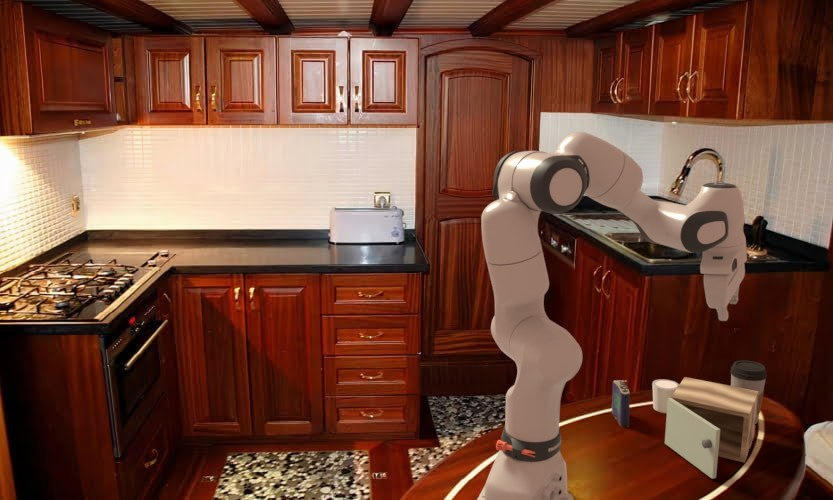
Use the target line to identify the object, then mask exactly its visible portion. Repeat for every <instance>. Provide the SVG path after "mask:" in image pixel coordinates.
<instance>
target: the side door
mask: <svg viewBox="0 0 833 500" xmlns="http://www.w3.org/2000/svg"><path fill="white" fill-rule="evenodd" d="M665 420H666V421H665V431H664V432H665V433H664V445H666V446H668V447H669V448H670V449H671V450H673V451H674V452H676V453H677V454H678V455H680V456H681V457H682V458H684V459H685V460H686V461H687V462H689V463H690V464H692V465H693V466H694V467H696V468H697V469H698V470H700V471H701V472H702V473H703V474H705V475H706V476H708V477H709V478H710V479H716V478H717V473H718V472H717V471H718V460H719V456H718V451H719V439H720V429H719V428H717V427H716V426H714V425H713V424H711V423H710V422H708V421H706V420H705V419H703V418H702V417H700V416H699V415H697V414H696V413H694V412H692V411H691V410H689V409H688V408H686V407H685V406H683V405H681V404H680V403H678V402H677V401H675V400H674V399H672V398H668V402H667V413H666V419H665Z"/></svg>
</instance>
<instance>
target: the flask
mask: <svg viewBox="0 0 833 500" xmlns="http://www.w3.org/2000/svg"><path fill="white" fill-rule="evenodd" d="M626 383H628V381H627V380H626V379H625V380H623V379H622V380H620V379H619V380H618V379H617V380H613V381H612V397H611V398H612V401H611V414H612V415H613V417H614V419H615V420H617V422H618V425H619V426H620V427H622V428H629V427H630V404H631V403H630V402H631V401H630V400H631V392H630V389H629V387H628V386H627V384H626Z"/></svg>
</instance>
